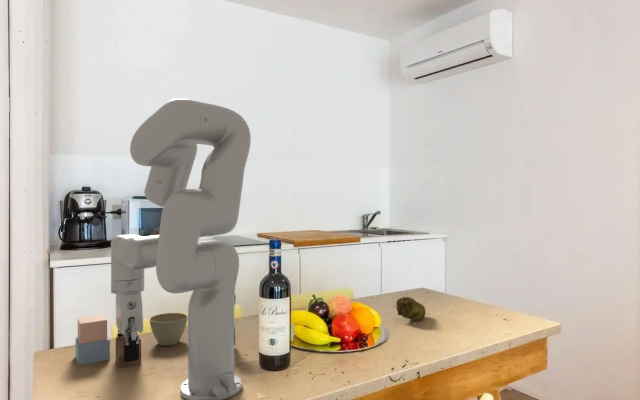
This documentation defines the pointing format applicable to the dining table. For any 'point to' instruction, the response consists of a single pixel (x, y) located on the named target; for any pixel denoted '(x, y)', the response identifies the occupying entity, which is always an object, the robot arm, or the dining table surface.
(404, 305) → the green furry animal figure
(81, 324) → the tower top
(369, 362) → the dining table surface
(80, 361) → the tower base
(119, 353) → the walnut block
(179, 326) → the olive grey bowl
